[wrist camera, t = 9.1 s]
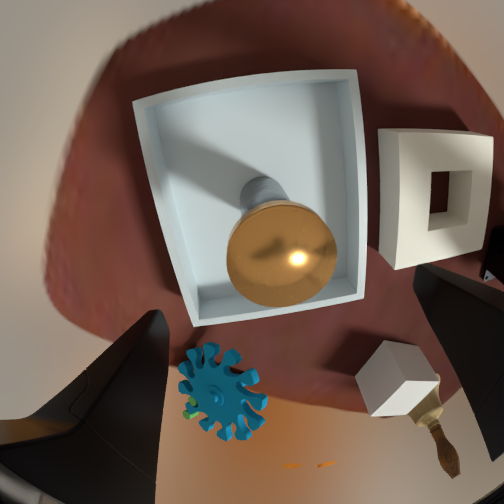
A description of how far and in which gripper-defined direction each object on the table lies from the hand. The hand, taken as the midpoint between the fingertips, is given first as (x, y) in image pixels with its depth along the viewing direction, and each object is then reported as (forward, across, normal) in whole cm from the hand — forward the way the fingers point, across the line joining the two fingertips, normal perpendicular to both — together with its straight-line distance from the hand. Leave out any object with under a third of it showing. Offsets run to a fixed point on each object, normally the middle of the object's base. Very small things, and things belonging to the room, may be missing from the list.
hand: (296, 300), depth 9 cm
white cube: (+12, -12, +21) cm, 27 cm away
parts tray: (+12, 0, 0) cm, 12 cm away
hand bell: (+12, -19, +31) cm, 38 cm away
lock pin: (+11, 0, 0) cm, 11 cm away
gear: (+12, +7, +16) cm, 21 cm away
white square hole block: (+12, -14, +1) cm, 18 cm away
